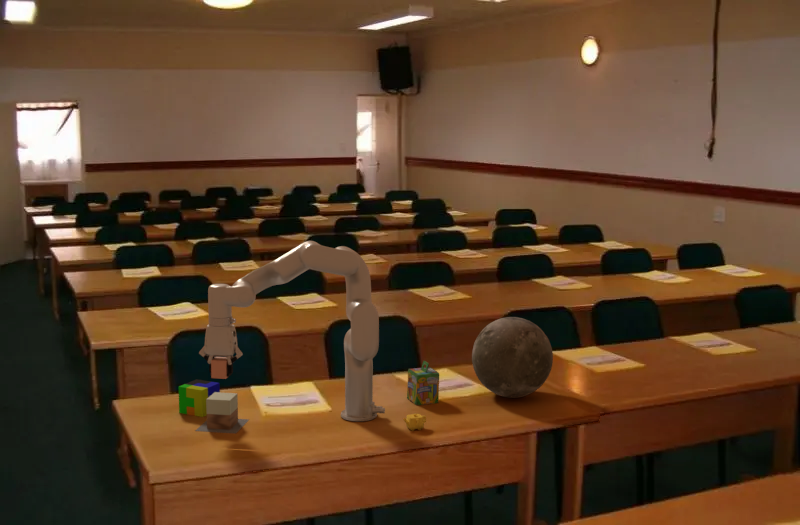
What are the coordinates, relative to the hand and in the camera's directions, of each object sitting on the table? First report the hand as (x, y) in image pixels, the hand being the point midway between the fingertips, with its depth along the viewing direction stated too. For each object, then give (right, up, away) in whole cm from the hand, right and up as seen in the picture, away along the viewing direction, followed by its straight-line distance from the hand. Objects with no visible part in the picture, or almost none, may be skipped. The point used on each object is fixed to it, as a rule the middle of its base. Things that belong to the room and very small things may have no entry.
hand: (221, 374), depth 293 cm
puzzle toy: (-11, -16, +17) cm, 26 cm away
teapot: (+64, -19, +2) cm, 67 cm away
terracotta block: (0, -1, 0) cm, 1 cm away
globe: (+101, -13, +39) cm, 109 cm away
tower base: (0, -17, +3) cm, 18 cm away
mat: (0, -18, +3) cm, 18 cm away
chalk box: (+68, -14, +32) cm, 76 cm away
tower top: (0, -12, +2) cm, 13 cm away
